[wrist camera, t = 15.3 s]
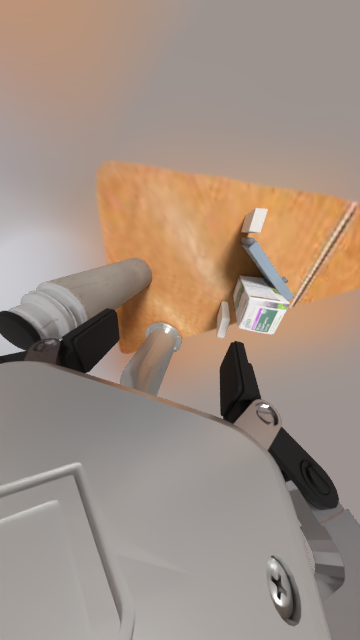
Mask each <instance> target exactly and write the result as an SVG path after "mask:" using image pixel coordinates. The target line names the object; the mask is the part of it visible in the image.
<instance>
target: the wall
mask: <svg viewBox="0 0 360 640" xmlns="http://www.w3.org/2000/svg"><path fill="white" fill-rule="evenodd" d="M267 211H268V209H260V208H255V209H254V210H253V211H251V212H250V213H248V214H247V215H246V216H245V219H244V223H243V226H242V230H241V232H244V233H258V232H260V231H261V229H262V226H263V223H264V220H265V217H266V214H267ZM229 322H230V314H229V307H228V302H224V301H222V302H221V305H220V309H219V312H218V316H217V337H220V338H224V337H225V334H226V331H227V328H228V325H229Z"/></svg>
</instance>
